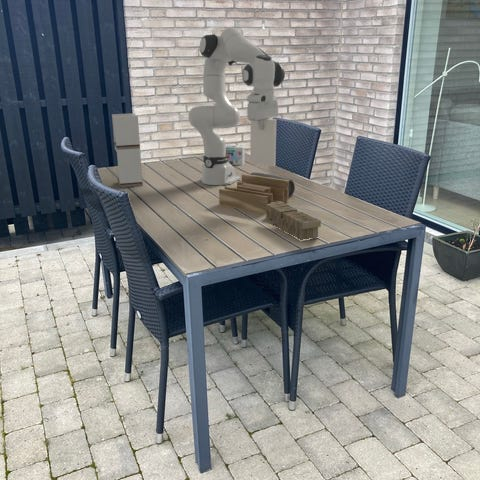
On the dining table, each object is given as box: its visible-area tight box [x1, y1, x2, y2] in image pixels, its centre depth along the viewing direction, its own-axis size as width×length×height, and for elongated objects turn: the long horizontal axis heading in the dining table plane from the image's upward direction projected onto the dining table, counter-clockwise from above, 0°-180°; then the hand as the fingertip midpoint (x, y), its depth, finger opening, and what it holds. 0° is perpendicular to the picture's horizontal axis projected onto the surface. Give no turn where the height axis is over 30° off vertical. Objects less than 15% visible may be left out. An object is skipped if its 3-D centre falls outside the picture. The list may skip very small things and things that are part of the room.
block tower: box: [265, 201, 322, 240], centre depth 201 cm, size 8×8×29 cm
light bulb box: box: [226, 144, 245, 166], centre depth 313 cm, size 11×7×11 cm, turn 81°
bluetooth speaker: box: [249, 172, 296, 198], centre depth 247 cm, size 23×9×10 cm, turn 47°
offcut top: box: [236, 183, 271, 194], centre depth 229 cm, size 6×14×2 cm, turn 55°
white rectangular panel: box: [249, 118, 278, 168], centre depth 227 cm, size 2×12×20 cm, turn 57°
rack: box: [218, 173, 289, 215], centre depth 229 cm, size 20×24×12 cm
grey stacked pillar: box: [111, 113, 144, 188], centre depth 263 cm, size 11×11×35 cm
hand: (263, 129), depth 225 cm, fingers closed on white rectangular panel, 2 cm apart
